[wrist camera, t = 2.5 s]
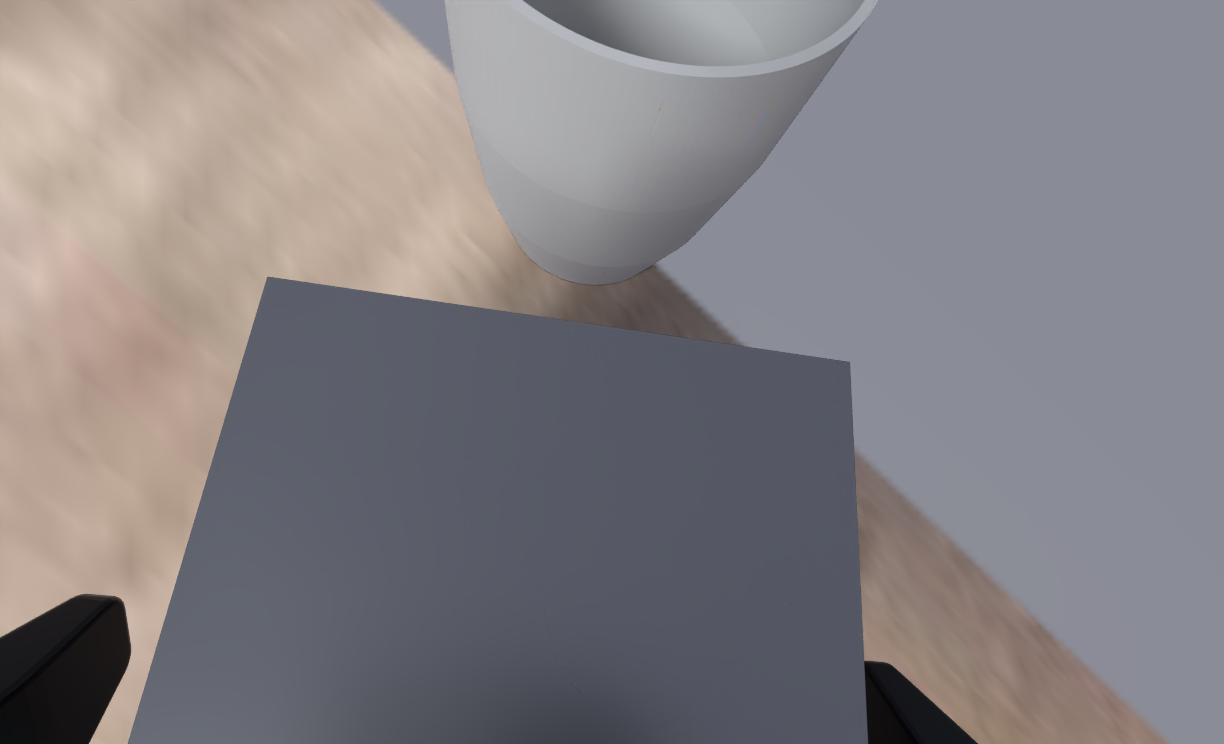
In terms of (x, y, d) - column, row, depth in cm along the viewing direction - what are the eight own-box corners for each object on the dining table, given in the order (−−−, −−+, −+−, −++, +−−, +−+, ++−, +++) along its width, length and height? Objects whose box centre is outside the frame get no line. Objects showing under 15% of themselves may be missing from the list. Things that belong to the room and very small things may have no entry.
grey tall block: (584, 734, 16) (884, 1089, 4) (388, 721, 15) (24, 1091, 3) (601, 539, 18) (848, 362, 5) (424, 521, 17) (266, 276, 5)
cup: (732, 146, 23) (899, -181, 13) (694, 364, 20) (877, 136, 10) (495, 77, 22) (501, -318, 13) (418, 292, 19) (353, -21, 10)
